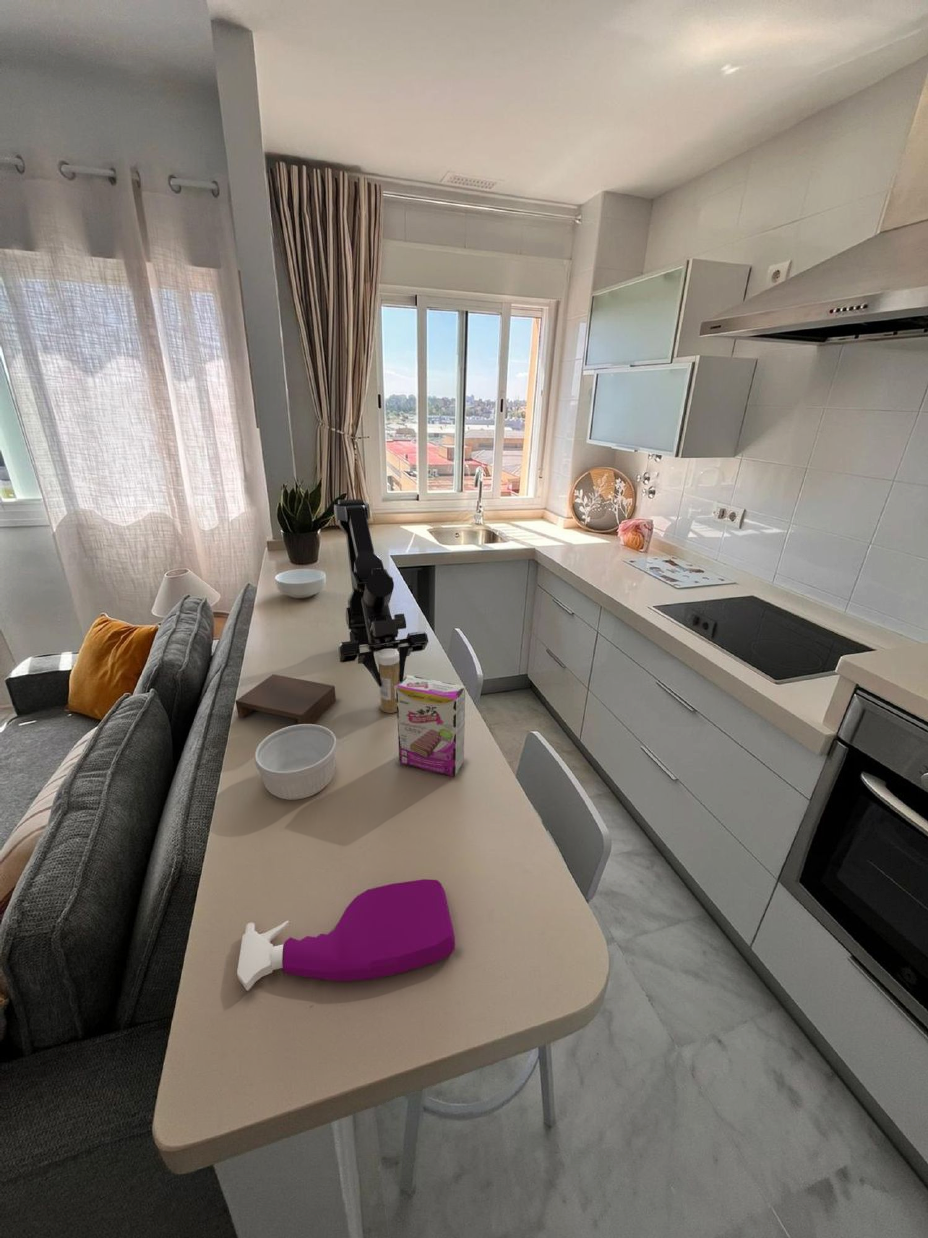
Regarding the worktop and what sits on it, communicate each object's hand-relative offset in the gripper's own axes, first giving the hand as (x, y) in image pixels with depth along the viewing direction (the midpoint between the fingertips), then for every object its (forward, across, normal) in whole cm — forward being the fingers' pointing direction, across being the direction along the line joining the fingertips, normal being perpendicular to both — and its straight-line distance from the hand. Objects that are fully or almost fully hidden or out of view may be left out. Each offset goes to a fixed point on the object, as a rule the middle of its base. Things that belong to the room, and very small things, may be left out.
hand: (391, 684), depth 103 cm
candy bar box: (+18, +3, -9) cm, 21 cm away
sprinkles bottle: (+4, 0, +6) cm, 7 cm away
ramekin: (+16, -20, -6) cm, 26 cm away
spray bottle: (+38, -16, -29) cm, 51 cm away
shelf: (-1, -21, +10) cm, 23 cm away
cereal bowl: (-53, -13, +63) cm, 84 cm away
